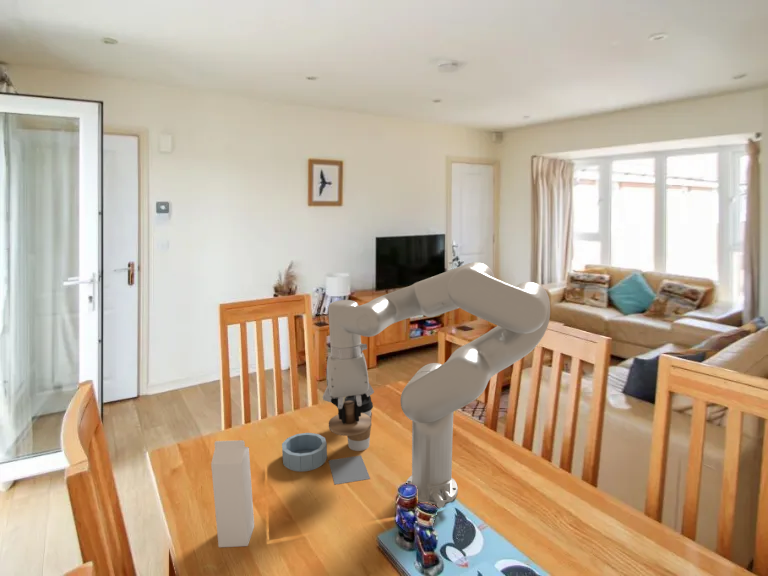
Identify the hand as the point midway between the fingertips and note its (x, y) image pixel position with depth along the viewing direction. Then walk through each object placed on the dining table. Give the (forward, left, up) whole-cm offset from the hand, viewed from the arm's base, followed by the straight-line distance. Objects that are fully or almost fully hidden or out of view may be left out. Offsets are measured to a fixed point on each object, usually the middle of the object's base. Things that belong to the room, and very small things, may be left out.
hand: (349, 419), depth 117 cm
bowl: (+8, +11, -15) cm, 20 cm away
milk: (-17, +28, -15) cm, 35 cm away
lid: (0, 0, -1) cm, 1 cm away
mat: (0, +1, -15) cm, 15 cm away
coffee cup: (+11, -4, -15) cm, 19 cm away
